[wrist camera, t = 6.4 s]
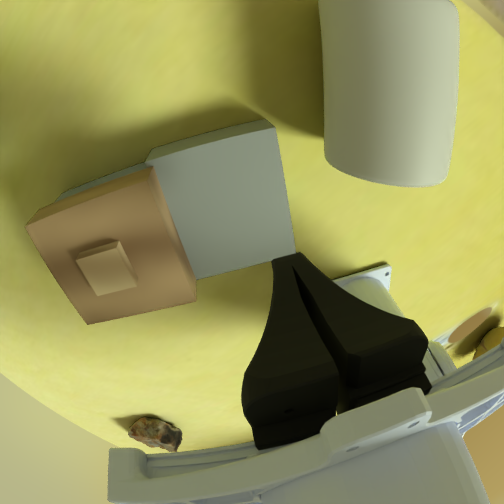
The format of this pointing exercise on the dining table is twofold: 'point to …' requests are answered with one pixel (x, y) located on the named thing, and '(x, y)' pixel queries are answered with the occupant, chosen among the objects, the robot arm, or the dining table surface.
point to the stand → (227, 197)
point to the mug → (390, 88)
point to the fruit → (490, 341)
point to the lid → (115, 249)
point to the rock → (156, 434)
